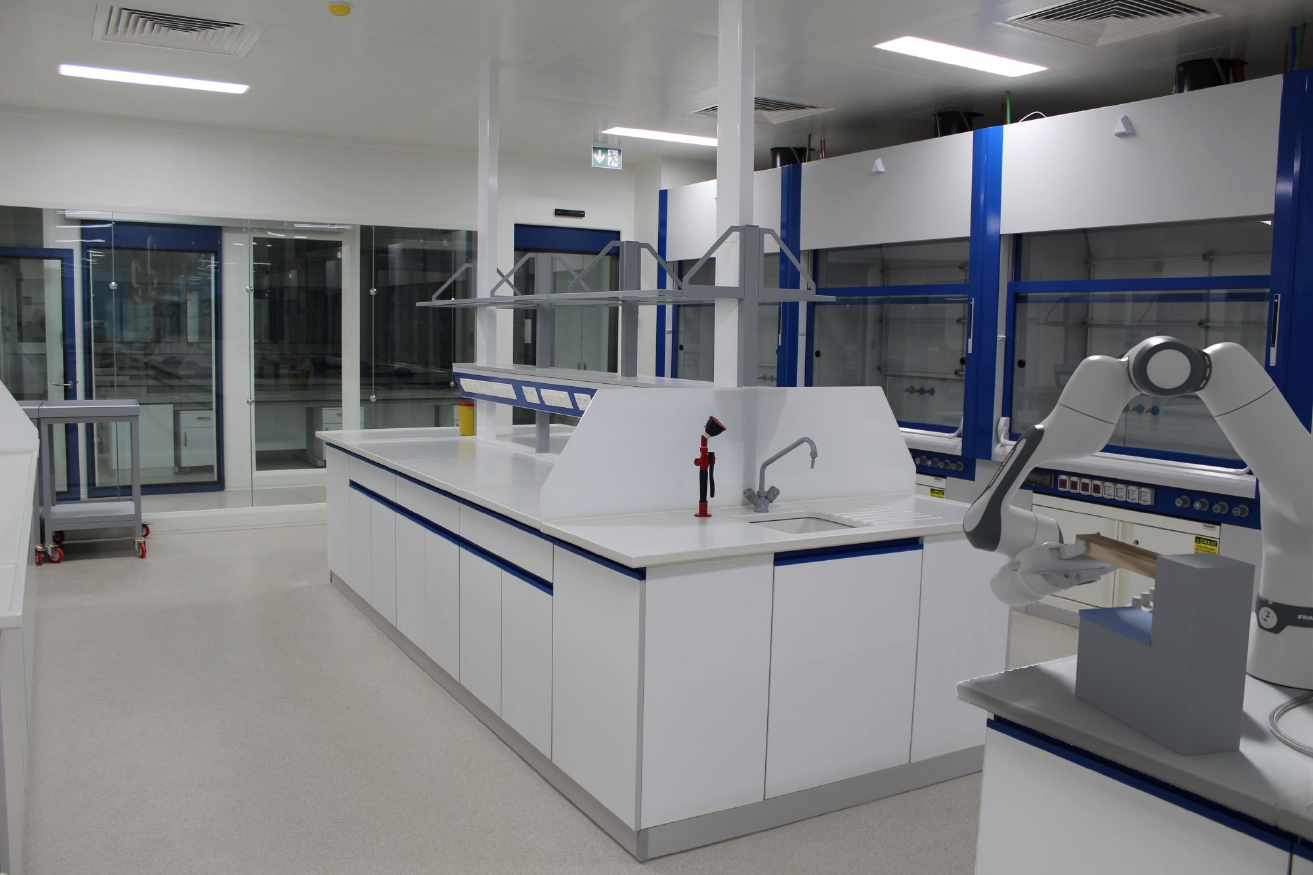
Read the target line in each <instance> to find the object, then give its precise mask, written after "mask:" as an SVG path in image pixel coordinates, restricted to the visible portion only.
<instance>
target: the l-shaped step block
mask: <svg viewBox="0 0 1313 875" xmlns="http://www.w3.org/2000/svg"><path fill="white" fill-rule="evenodd" d="M1255 570H1256V565H1255V564H1253V563H1249V562H1247V561H1246V562H1245V561H1242V560H1239V559H1235V558H1232V557H1229V556H1224V555H1222V554H1221V555H1220V554H1217V553H1214V552H1202V553H1200V552H1199V553H1196V552H1195V553H1183V554H1181V553H1180V554H1162V555H1158V556H1157V560H1156V574H1155V579H1154V587H1153V588H1154V600H1153V614H1151V613H1148V612H1146V611H1143V610H1140V609H1138V608H1135V607H1133V606H1126V605H1124V606H1113V607H1111V606H1110V607H1097V608H1096V607H1095V608H1084V609H1083V608H1082V609H1078V616H1079V625H1078V626H1079V628H1078V638H1077V639H1078V643H1077V653H1076V654H1077V657H1076V672H1075V684H1074V685H1075V687H1074V688H1075V689H1074V697H1075V698H1078V699H1079V700H1082V701H1083V702H1085V703H1087V704H1089V705H1091V706H1093V707H1094V708H1096V709H1098V710H1100V711H1101V712H1103V713H1105V714H1106V715H1108V716H1110V717H1113V719H1116V720H1117V721H1120V722H1121V723H1123V724H1125V725H1127V727H1128V726H1129V727H1130V728H1132V729H1134V730H1136V731H1137V732H1140V733H1141V734H1143V735H1145V736H1146V737H1149V738H1151V739H1153V740H1154V741H1156V742H1158V743H1160V744H1161V745H1163V746H1165V747H1167V748H1168V749H1170V750H1172V751H1174V752H1176V753H1178V754H1180V755H1181V756H1184V757H1185V756H1186V757H1187V756H1194V755H1202V754H1212V753H1221V752H1229V751H1238V750H1240V747H1241V746H1240V745H1241V734H1242V726H1243V725H1242V724H1243V723H1242V722H1243V712H1244V711H1243V709H1244V700H1245V697H1244V696H1245V686H1246V678H1247V675H1246V674H1247V672H1246V667H1247V655H1248V645H1249V640H1250V633H1251V632H1250V631H1251V630H1250V629H1251V618H1252V608H1253V607H1252V606H1253V596H1254V584H1255V583H1254V582H1255Z"/></svg>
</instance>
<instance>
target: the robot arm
mask: <svg viewBox="0 0 1313 875" xmlns="http://www.w3.org/2000/svg"><path fill="white" fill-rule="evenodd" d="M1192 393H1194V394H1196V395H1197V396H1198V397H1199V398H1200V399H1201V400H1202V402H1204V404H1205V406H1206V408H1207V409H1208V410H1209V412H1210V414H1211V415H1212V417H1213V418H1214V420H1215V422H1216V423H1217V425H1218V426H1219V427H1220V429H1221V431H1222V432H1223V434H1224V435H1225V436H1226V438H1227V439H1228V441H1229V443H1230V444H1231V446H1232V448H1233V449H1234V450H1235V453H1237V455H1238V456H1239V457H1240V458H1241V459H1242V461H1243V462H1244V463H1245V464H1246V465H1247V467H1248V468H1249V469H1250V470H1251V472H1252V474H1254V476H1255V477H1256V479H1257V480H1258V490H1259V496H1260V499H1259V501H1260V502H1259V503H1260V507H1259V509H1260V511H1259V512H1260V529H1261V538H1262V539H1261V542H1262V559H1261V560H1262V562H1261V570H1260V571H1261V572H1260V584H1259V593H1257V594H1256V596H1255V597H1256V598H1255V601H1254V605H1255V606H1254V614H1255V615H1256V618H1254V620H1253V622H1252V627H1251V630H1250V631H1251V632H1250V634H1249V644H1248V655H1247V667H1246V674H1249V675H1251V676H1252V677H1255V678H1258V679H1260V680H1264V681H1266V682H1270V683H1273V684H1278V685H1282V686H1287V687H1292V688H1298V689H1305V690H1313V435H1312V434H1311V433H1310V432H1309V431H1308V430H1307V428H1306V427H1305V426H1304V425H1303V423H1302V422H1301V421H1300V419H1299V418H1298V417H1297V415H1296V413H1295V412H1294V411H1293V409H1292V407H1291V406H1290V404H1289V403H1288V402H1287V400H1286V399H1285V397H1284V396H1283V394H1282V392H1281V391H1280V389H1279V388H1278V387H1277V385H1276V384H1275V382H1274V381H1273V379H1272V377H1271V376H1270V374H1268V372H1267V371H1266V370H1265V369H1264V368H1263V366H1262V365H1261V364H1260V363H1259V362H1258V360H1257V359H1256V358H1255V356H1253V355H1252V354H1251V353H1250V352H1249V351H1248V350H1247V349H1246V348H1245V347H1243V346H1242V345H1241V344H1239V343H1236V342H1231V341H1227V342H1220V343H1219V342H1218V343H1215V344H1212V345H1210V346H1208V347H1206V348H1205V349H1200V348H1198V347H1196V346H1195V345H1192V344H1190V343H1188V342H1186V341H1184V340H1181V339H1178V338H1176V337H1172V336H1169V335H1157V336H1152V337H1148V338H1145V339H1144V338H1143V339H1142V340H1140V341H1138V342H1136V343H1135V344H1134V345H1133V346H1131V347H1130V348H1128V349H1127V350H1125V351H1124V352H1123V353H1121V354H1120V355H1119V356H1118V357H1116V358H1115V357H1112V356H1109V355H1101V354H1097V355H1090V356H1088V357H1086V358H1084V359H1083V360H1082V361H1081V362H1080V363H1079V364H1078V366H1077V367H1076V369H1075V370H1074V372H1073V373H1072V374H1071V376H1070V378H1069V379H1068V381H1067V382H1066V384H1065V386H1064V388H1063V390H1062V393H1061V394H1060V396H1059V398H1058V401H1057V403H1056V405H1055V406H1054V408H1053V410H1052V411H1050V414H1048V416H1047V417H1046V418H1045V419H1043V421H1041V422H1040V423H1038V424H1036V425H1035V424H1034V425H1031V426H1029V427H1028V428H1026V430H1024V432H1023V433H1022V434H1021V435H1020V436H1019V438H1018V439H1017V440H1016V442H1015V444H1014V445H1013V446H1012V447H1011V449H1010V450H1009V452H1008V454H1007V455H1006V456H1005V458H1004V460H1003V461H1002V463H1001V464H1000V466H999V467H998V469H997V471H996V472H995V473H994V475H993V476H992V478H991V479H990V481H989V483H988V484H987V486H986V487H985V489H984V490H983V491H982V493H980V495H979V496H978V497H977V499H975V501H973V503H972V504H971V505H970V506H969V508H968V510H967V512H966V513H965V516H964V518H963V523H962V529H963V533H964V535H965V537H966V538H967V540H968V542H969V543H970V545H971V546H972V547H973V548H974V549H977V550H981V551H982V550H983V551H985V552H990V553H996V554H1000V555H1002V556H1006V560H1005V561H1004V563H1003V565H1002V566H1001V567H1000V568H998V569H997V570H996V571H995V572H993V574H992V575H991V577H990V580H989V586H990V589H991V592H992V594H993V595H994V596H995V597H996V599H997V600H998V601H1000V602H1001V603H1003V604H1005V605H1008V606H1009V607H1023V606H1028V605H1030V604H1034V603H1037V602H1038V601H1041V600H1043V599H1045V598H1046V597H1048V596H1052V595H1055V594H1058V593H1060V592H1062V591H1067V590H1069V589H1071V588H1073V587H1077V586H1078V587H1079V586H1082V585H1089V584H1093V583H1097V582H1100V581H1101V580H1102V576H1105V575H1109V574H1111V573H1114V572H1115V571H1117V570H1119V569H1122V568H1121V567H1118V566H1115V565H1112V564H1109V563H1106V562H1103V561H1101V560H1098V559H1095V558H1092V557H1089V556H1086V555H1083V553H1087V552H1089V551H1090V550H1091V547H1090V546H1089V545H1090V543H1089V542H1088V541H1080V542H1078V543H1069V544H1068V543H1067V544H1065V542H1064V541H1065V540H1064V537H1063V532H1062V530H1061V527H1060V525H1059V523H1058V522H1057V521H1056V520H1055V519H1054V518H1052V517H1049V516H1046V515H1043V514H1040V513H1037V512H1034V511H1031V510H1026V509H1024V508H1021V507H1017V506H1014V505H1011V504H1010V502H1011V501H1012V500H1013V497H1014V496H1015V495H1016V493H1017V492H1018V490H1019V489H1020V487H1021V486H1022V484H1023V482H1025V480H1026V478H1027V477H1028V475H1029V473H1030V472H1031V471H1033V469H1035V467H1037V466H1039V465H1042V464H1045V463H1047V462H1053V461H1068V460H1069V461H1072V460H1080V459H1085V458H1088V457H1092V456H1093V455H1095V454H1098V453H1099V452H1100V451H1102V450H1103V449H1104V448H1105V446H1106V445H1107V444H1108V442H1109V440H1110V439H1111V438H1112V436H1113V433H1114V431H1115V428H1116V427H1117V424H1118V422H1119V420H1120V418H1121V415H1122V412H1123V410H1124V409H1125V407H1126V406H1127V404H1128V403H1129V402H1130V401H1131V400H1133V398H1135V397H1137V396H1139V395H1147V396H1148V397H1154V398H1161V399H1170V398H1176V397H1177V398H1178V397H1180V396H1184V395H1188V394H1192ZM1123 542H1124V541H1123ZM1124 543H1126V542H1124Z"/></svg>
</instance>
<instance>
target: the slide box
mask: <svg viewBox="0 0 1313 875" xmlns="http://www.w3.org/2000/svg"><path fill="white" fill-rule="evenodd" d="M1080 541H1088V542H1089V543H1090V545H1089V546H1090V547H1091V550H1090V551H1089V552H1087V553H1083V555H1086V556H1089V557H1092V558H1095V559H1098V560H1101V561H1103V562H1106V563H1109V564H1112V565H1115V566H1118V567H1121V568H1120V569H1124V570H1127V571H1130V572H1133V573H1135V574H1138V575H1141V576H1145V577H1146V578H1150V579H1152V580H1155V574H1156V560H1157V556H1158V555H1163V554H1162V553H1158V552H1155V551H1151V550H1150V549H1149V550H1148V549H1145V548H1143V547H1139V546H1136V545H1133V544H1131V543H1127V542H1125V543H1124V541H1120V540H1117V539H1113V538H1110V537H1108V536H1105V535H1101V534H1099V533H1098V534H1097V533H1081V534H1079V533H1076V534H1075V543H1078V542H1080ZM1075 543H1074V544H1075Z"/></svg>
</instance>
